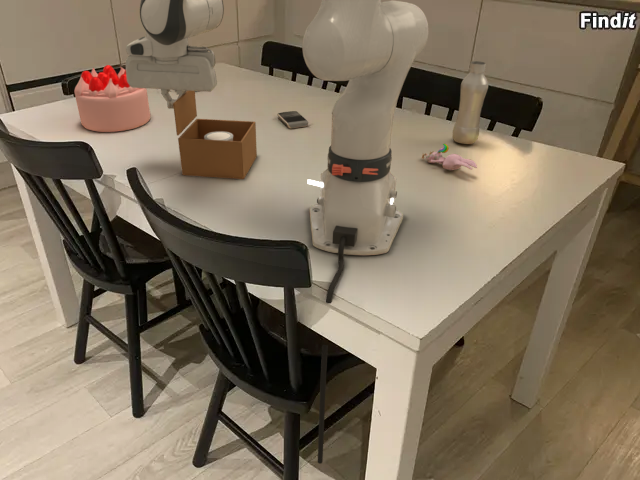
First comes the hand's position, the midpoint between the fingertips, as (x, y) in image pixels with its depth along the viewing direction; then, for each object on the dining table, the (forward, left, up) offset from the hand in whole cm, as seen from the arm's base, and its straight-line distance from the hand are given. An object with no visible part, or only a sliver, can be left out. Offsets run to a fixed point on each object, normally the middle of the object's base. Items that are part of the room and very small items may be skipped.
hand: (175, 108), depth 130 cm
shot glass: (0, -10, -13) cm, 17 cm away
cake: (+27, +29, -14) cm, 42 cm away
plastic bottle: (+25, -69, -14) cm, 74 cm away
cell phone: (+34, -22, -14) cm, 42 cm away
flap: (0, -3, 0) cm, 3 cm away
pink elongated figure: (+6, -64, -14) cm, 66 cm away
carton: (0, -10, -14) cm, 17 cm away
